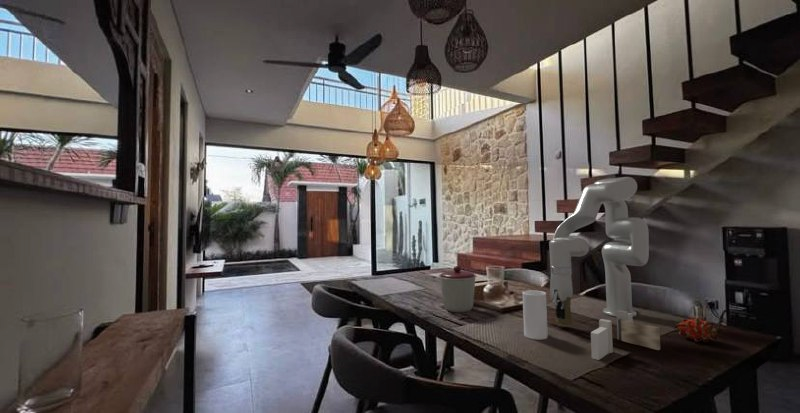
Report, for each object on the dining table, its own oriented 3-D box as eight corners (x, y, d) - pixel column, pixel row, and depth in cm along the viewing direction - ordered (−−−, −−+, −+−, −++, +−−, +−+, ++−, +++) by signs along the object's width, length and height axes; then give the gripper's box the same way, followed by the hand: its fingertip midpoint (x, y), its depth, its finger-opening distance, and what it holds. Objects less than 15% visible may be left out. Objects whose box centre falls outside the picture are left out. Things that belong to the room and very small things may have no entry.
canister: (450, 303, 177) (449, 262, 178) (483, 307, 167) (482, 264, 167) (432, 311, 163) (431, 267, 163) (468, 317, 152) (466, 269, 152)
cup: (529, 330, 133) (528, 289, 134) (551, 335, 127) (549, 292, 128) (520, 336, 127) (518, 292, 128) (542, 341, 122) (540, 296, 122)
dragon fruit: (724, 350, 114) (678, 347, 121) (718, 329, 119) (675, 327, 127) (720, 333, 110) (673, 331, 118) (714, 312, 116) (670, 312, 124)
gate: (618, 339, 120) (617, 319, 120) (621, 338, 121) (620, 318, 121) (658, 350, 110) (657, 328, 110) (661, 348, 111) (660, 326, 111)
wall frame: (625, 333, 127) (624, 306, 127) (634, 335, 124) (633, 308, 124) (590, 357, 107) (588, 325, 107) (600, 360, 105) (599, 327, 105)
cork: (574, 325, 131) (572, 296, 132) (557, 324, 133) (556, 296, 133) (570, 319, 137) (568, 292, 138) (554, 319, 139) (552, 292, 139)
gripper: (561, 266, 143) (564, 310, 143) (541, 272, 133) (543, 320, 133) (580, 268, 138) (582, 313, 137) (560, 275, 127) (563, 324, 127)
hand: (563, 316), depth 135 cm, fingers closed on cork, 4 cm apart
